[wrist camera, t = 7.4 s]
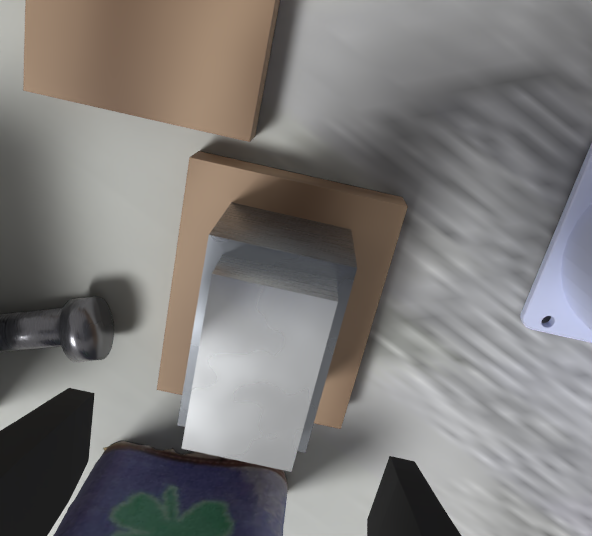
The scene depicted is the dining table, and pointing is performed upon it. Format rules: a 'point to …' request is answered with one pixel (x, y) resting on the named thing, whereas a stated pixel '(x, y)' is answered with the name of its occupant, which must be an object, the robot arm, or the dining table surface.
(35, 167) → the dining table surface
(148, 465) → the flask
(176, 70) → the stand
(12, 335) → the loose bolt
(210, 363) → the block
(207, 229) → the stand
